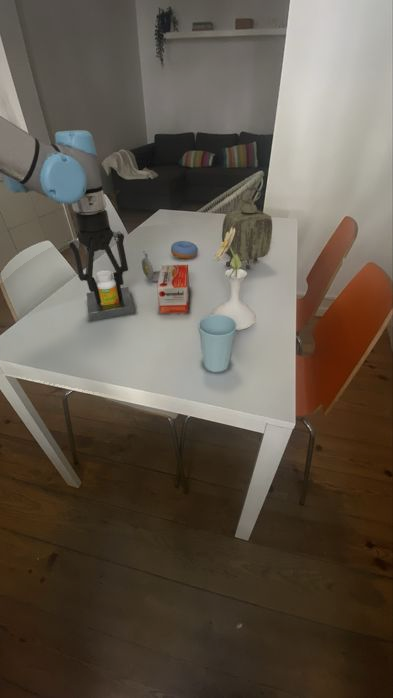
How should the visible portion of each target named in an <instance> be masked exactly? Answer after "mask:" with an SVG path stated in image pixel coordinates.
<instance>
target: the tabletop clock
mask: <svg viewBox="0 0 393 698" xmlns="http://www.w3.org/2000/svg"><path fill="white" fill-rule="evenodd" d="M249 191H257V192H258V194H259V195H258V196H257V197H256V198H254V199H253V198H252V197H251V196H249V197H248V199H247V200H246V199H244V198H243V195H244V194H245V192H249ZM261 195H262V192H261V190H260V189H259V188H257V187H254V186H252V187H251V186H250V187H246V188H245V189H243V190H242V191H241V193H240V196H239V199H240V200H241V202H242V203H244V205H242V207H241V209H237V210H234V211H230V212H228V213H226V214H225V216H224V218H223V222H222V223H223V224H222V229H221V230H222V231H221V242H224V239H225V236H226V233H227V232H228V233H229V232H230V229H231V227H232V230H233V229H234V228H235V234H234V237H233V240H232V242H231V244H230V247H231V248H232V250H233V253H234V255H236V254H237V255H238V257H239V259H240V261H241V262H246V265H245V269H246V270H250V269H251V264H250V261H253V262H257V261H258V259H262V258H264V257H266V256H268V254H269V253H270V248H271V243H272V237H273V219H272V216H271V215H270V214H267V213H265V212H263V211H261V210H259V209H258V207H257V205H256V204H254V203H255V202H257V201H258V200H259V199H260V198H261ZM228 235H229V234H228ZM225 255H227V256H228V257H229V258H230V259H229V260H228V261H226V262H225V266H226V267H230V266H231V260H232V258H233V255H232V252H231V250H230V248H229V249H228V250H227V252H226V253H225Z"/></svg>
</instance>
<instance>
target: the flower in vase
mask: <svg viewBox="0 0 393 698" xmlns="http://www.w3.org/2000/svg"><path fill="white" fill-rule="evenodd" d="M228 234H229V235H228ZM234 234H235V228H234V229H233V230H232V227H231V229H230V232H229V233H228V232H227V233H226V236H225V239H224V242H222V241H221V242H220V243H219V249H218V250H217V252H215V255H214V257H215V258H214V261H216V262H219V261H220V260H221V259H223V257H224V256H225V255H226V252H227V250H228V249H229V248H230V250H231V252H232V255H233V258H232V260H231V262H230V265H231V266H232V267H233V268H230V269H227V270H226V271H225V275H226V277H227V279H228V281H229V288H230V289H229V290H230V291H229V293H230V294H229V298H228V300H226V301H225V302H223V303H220V304H219V305H218V306H217V307H216V308H214V309H213V311H212V313H211V315H225V316H228V317H230V318H232V319H233V320H234V321H235V322H236V324H237V327H236V332H237V331H243V330H246V329H248V328H250V327H252V326H253V325H254V323H255V322H256V314H255V312H254V310H253V309H252V308H251V307H250V306H249V305H247V304H245V303H244V302H242V301H241V299H240V291H241V286H242V282H243V280H244V279H245V277H246V276H247V274H248V272H247V271H246V270H245V269H241V267H242V265H243V263H242V261H240V259H239V257H238V255H237V254H236V255H234V253H233V250H232V248H231V247H230V244H231V242H232V240H233V237H234Z"/></svg>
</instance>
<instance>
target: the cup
mask: <svg viewBox="0 0 393 698" xmlns="http://www.w3.org/2000/svg"><path fill="white" fill-rule="evenodd" d="M236 327H237V324H236V322H235V321H234V320H233V319H232V318H230V317H228V316H225V315H212V314H209V315H207V316H204V317H203V318H201V319H200V320H199V321H198V324H197V328H198V334H199V340H200V348H201V354H202V355H201V356H202V361H203V366H204V368H205V369H206V370H207V371H210V372H212V373H213V372H214V373H220V372H224V371H226V370H227V369H228V367H229V365H230V360H231V356H232V352H233V351H232V350H233V347H234V341H235V337H236V332H237V331H236Z"/></svg>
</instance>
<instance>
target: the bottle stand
mask: <svg viewBox="0 0 393 698" xmlns="http://www.w3.org/2000/svg"><path fill="white" fill-rule="evenodd" d="M121 292H122V298H119V301H120V303H114V304H108V305H102V306H101V305H100V303H97V301H96V298H95V294H94V292H91V291H89V292H86V299H87V314H88V317H89V321H90V322H93V321H101V320H105V319H111V318H117V317H123V316H128V315H134V314H135V307H134V303H133V300H132V297H131V294H130V290H129V287H128V286H123V287H121Z"/></svg>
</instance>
